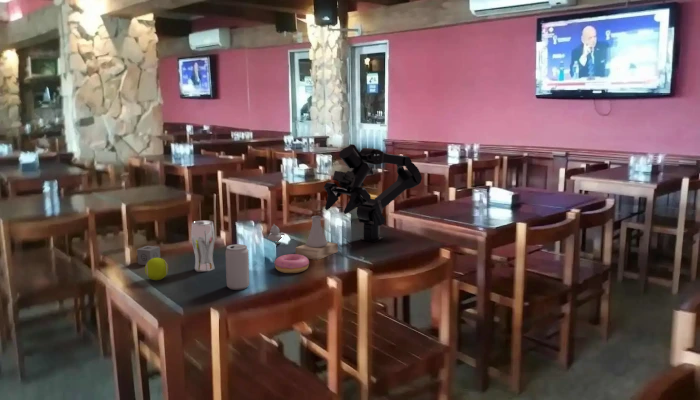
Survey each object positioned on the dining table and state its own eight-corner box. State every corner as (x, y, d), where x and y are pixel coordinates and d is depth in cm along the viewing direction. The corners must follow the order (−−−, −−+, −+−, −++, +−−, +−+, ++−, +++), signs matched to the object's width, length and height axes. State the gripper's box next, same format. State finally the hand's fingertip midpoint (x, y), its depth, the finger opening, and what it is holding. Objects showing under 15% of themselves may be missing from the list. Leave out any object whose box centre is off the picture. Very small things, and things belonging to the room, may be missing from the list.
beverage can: (228, 283, 172) (226, 243, 170) (250, 283, 173) (249, 243, 171) (225, 291, 166) (223, 249, 164) (248, 290, 166) (247, 249, 164)
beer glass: (220, 267, 188) (218, 221, 186) (208, 273, 182) (205, 225, 179) (201, 265, 191) (199, 219, 188) (188, 271, 184) (186, 224, 181)
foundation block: (316, 248, 210) (316, 240, 210) (337, 251, 206) (337, 243, 205) (295, 256, 200) (295, 247, 200) (317, 260, 196) (317, 251, 195)
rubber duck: (264, 243, 217) (264, 222, 215) (280, 241, 221) (280, 220, 219) (272, 246, 212) (271, 225, 211) (288, 244, 216) (287, 222, 215)
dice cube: (148, 260, 197) (147, 245, 196) (160, 261, 195) (159, 246, 194) (138, 264, 192) (136, 249, 191) (150, 265, 190) (149, 250, 190)
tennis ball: (145, 277, 178) (143, 256, 177) (168, 275, 180) (166, 253, 179) (146, 284, 172) (144, 262, 171) (170, 281, 174) (168, 259, 173)
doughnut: (316, 269, 186) (316, 257, 185) (287, 277, 179) (287, 263, 178) (295, 262, 194) (295, 250, 193) (267, 269, 187) (267, 256, 186)
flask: (331, 244, 204) (331, 216, 202) (318, 249, 198) (318, 219, 196) (314, 241, 208) (314, 213, 206) (301, 246, 202) (301, 217, 200)
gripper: (327, 160, 214) (304, 194, 208) (365, 164, 201) (342, 200, 195) (342, 179, 221) (321, 212, 215) (380, 184, 208) (358, 220, 202)
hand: (335, 211), depth 207 cm, fingers open, 9 cm apart
